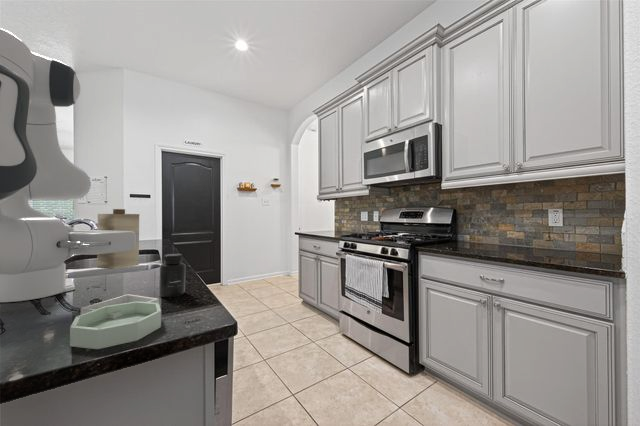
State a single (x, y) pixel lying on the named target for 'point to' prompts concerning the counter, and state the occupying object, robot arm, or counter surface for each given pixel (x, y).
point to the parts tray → (118, 301)
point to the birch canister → (119, 223)
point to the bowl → (115, 325)
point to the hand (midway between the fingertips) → (125, 237)
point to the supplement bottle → (172, 276)
